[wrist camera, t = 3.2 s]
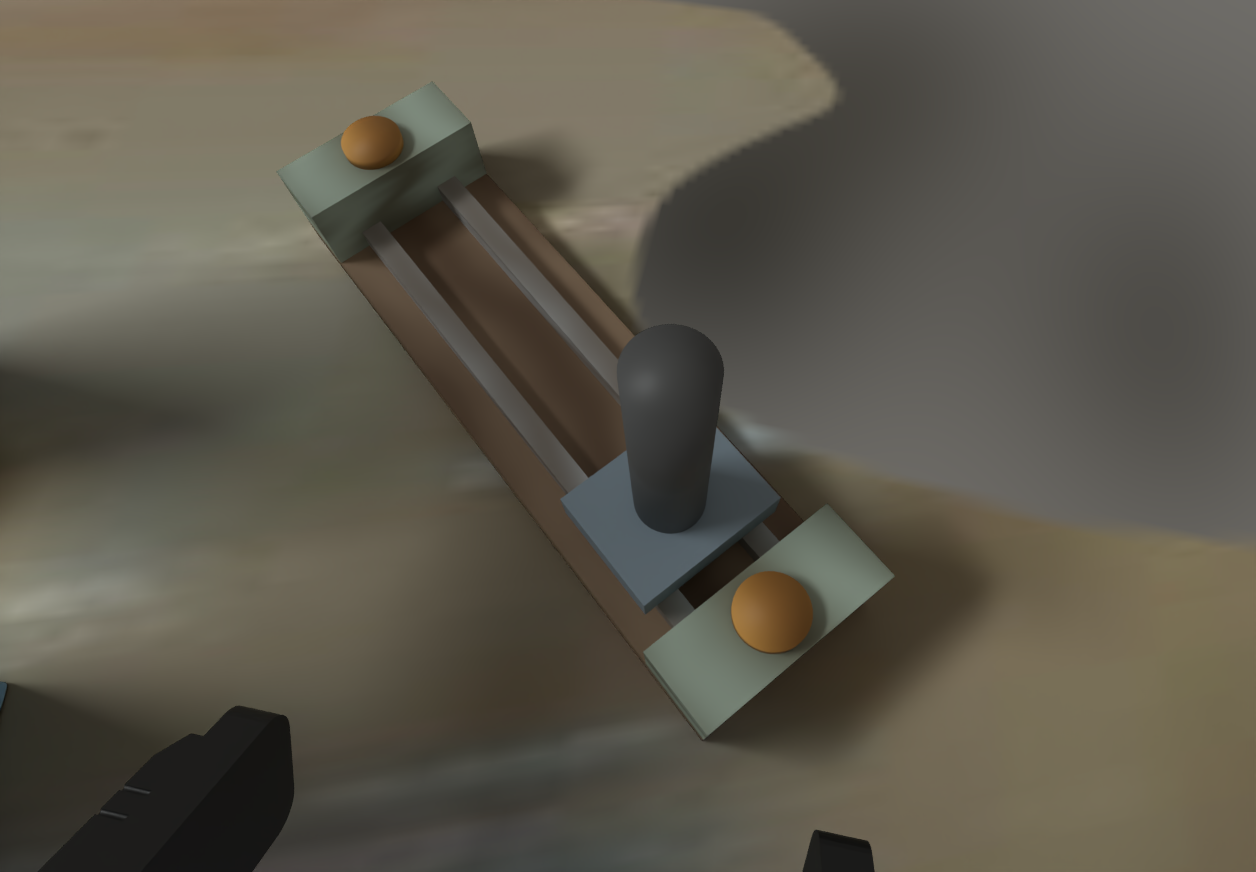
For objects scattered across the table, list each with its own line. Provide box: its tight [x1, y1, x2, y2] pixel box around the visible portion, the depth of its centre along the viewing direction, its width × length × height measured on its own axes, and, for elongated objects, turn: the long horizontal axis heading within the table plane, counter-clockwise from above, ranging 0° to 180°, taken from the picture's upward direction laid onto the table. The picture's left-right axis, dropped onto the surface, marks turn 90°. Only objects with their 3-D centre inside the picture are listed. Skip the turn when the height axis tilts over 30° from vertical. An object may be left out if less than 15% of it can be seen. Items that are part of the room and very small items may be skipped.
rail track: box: [276, 81, 895, 741], centre depth 39 cm, size 10×36×6 cm, turn 38°
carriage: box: [560, 324, 781, 615], centre depth 30 cm, size 8×6×14 cm
